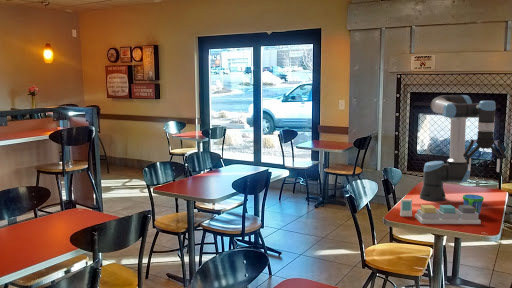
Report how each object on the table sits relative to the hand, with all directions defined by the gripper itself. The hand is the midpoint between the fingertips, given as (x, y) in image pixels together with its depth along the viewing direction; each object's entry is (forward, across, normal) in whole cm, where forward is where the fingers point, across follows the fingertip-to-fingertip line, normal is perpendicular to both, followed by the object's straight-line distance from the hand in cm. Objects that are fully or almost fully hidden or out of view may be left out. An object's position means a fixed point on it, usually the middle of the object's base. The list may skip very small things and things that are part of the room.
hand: (483, 171), depth 246 cm
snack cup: (+27, -3, +11) cm, 29 cm away
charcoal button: (+23, -7, -3) cm, 24 cm away
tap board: (+26, -17, -5) cm, 32 cm away
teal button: (+23, -17, -5) cm, 29 cm away
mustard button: (+23, -27, -8) cm, 36 cm away
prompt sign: (+27, -38, -1) cm, 46 cm away
